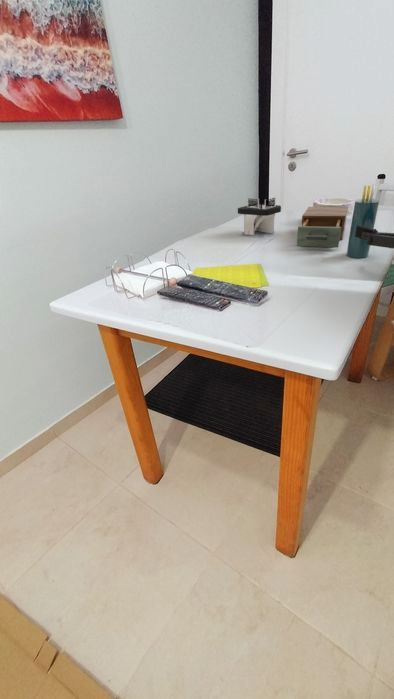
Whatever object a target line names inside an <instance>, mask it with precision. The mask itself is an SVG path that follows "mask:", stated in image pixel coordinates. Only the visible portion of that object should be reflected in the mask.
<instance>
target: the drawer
mask: <svg viewBox="0 0 394 699" xmlns="http://www.w3.org/2000/svg"><path fill="white" fill-rule="evenodd" d="M340 222H341V219H314V218H307V219H306V221H305V222H304V224H303V225H302V224H301V225H302V226H301V225H298V227H297V235H296V236H297V238H296V247H314V248H315V247H318V248H339V245H340V240H339V239H340V232H341V227H340Z"/></svg>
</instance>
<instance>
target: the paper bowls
mask: <svg viewBox="0 0 394 699" xmlns="http://www.w3.org/2000/svg"><path fill="white" fill-rule="evenodd" d="M354 205H355V201H354V199H351V198H346V197H322V198H318V199H315V200H314V201H312V207H348V211H347V217H349V216H351V215H353V211H354Z"/></svg>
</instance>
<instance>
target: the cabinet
mask: <svg viewBox="0 0 394 699" xmlns="http://www.w3.org/2000/svg"><path fill="white" fill-rule="evenodd" d="M347 211H348V207H313V206H308V207H307V209H306V210H305V212H304V213H303V214H302V216H301V225H300V226H302V225H303V224H304V222H305V221H306V219H307V218H314V219H341V222H340V227H341V232H340V239H339V241H343V238H344V234H345V229H346V223H347V217H348V216H347Z"/></svg>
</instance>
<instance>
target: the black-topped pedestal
mask: <svg viewBox="0 0 394 699" xmlns="http://www.w3.org/2000/svg"><path fill="white" fill-rule="evenodd" d="M281 212H282V206H281V205H279V204H277V197H276V196H274V197H272V198H269V199H268V198H267V199H264V203H262V201H261V200H260V198H249V197H247V198H246V205H245V206H239V207H238V208H237V214H238V215H243V236H244V235H245V236H246V235H247V236H255V232H261V233H266V234H272V235H273V234H274V235H275V220H276V214H278V213H279V214H280V213H281Z"/></svg>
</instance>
